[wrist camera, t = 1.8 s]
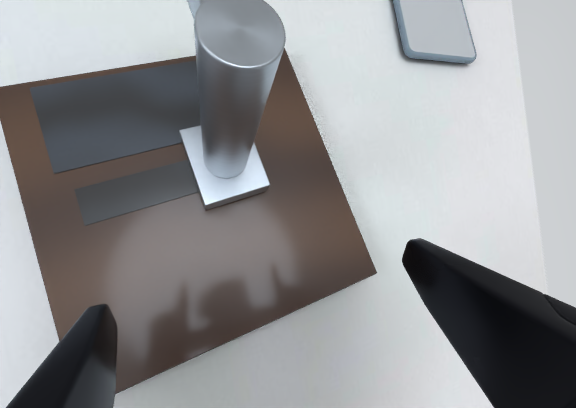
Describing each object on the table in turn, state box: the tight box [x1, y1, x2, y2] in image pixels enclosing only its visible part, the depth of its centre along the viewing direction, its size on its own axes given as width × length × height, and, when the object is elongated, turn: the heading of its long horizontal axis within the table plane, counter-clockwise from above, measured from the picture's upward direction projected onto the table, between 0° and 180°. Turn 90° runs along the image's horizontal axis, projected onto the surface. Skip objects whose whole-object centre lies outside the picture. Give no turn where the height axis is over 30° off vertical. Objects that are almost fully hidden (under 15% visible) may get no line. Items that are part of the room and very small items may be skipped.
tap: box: [179, 0, 286, 210], centre depth 16 cm, size 11×4×13 cm, turn 22°
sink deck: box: [0, 48, 377, 394], centre depth 21 cm, size 20×20×2 cm
